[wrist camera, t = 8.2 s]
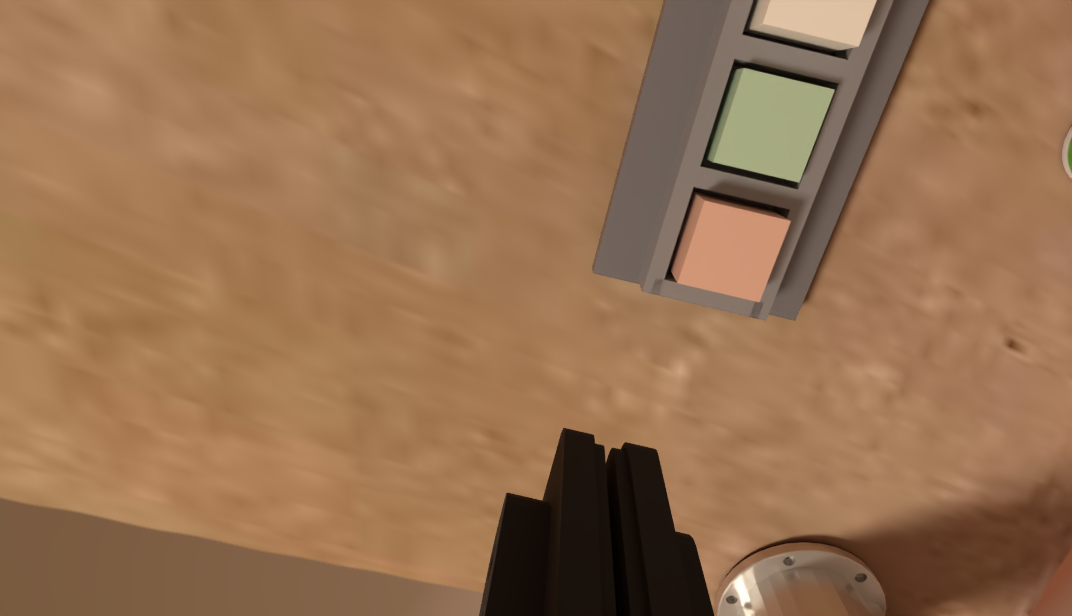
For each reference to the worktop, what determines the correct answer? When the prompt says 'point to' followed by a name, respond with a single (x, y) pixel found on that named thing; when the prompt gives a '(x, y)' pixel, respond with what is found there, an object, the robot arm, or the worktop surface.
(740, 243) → the terracotta key
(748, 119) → the sage key
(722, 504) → the worktop surface
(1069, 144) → the supplement bottle
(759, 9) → the cream key
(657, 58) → the console
